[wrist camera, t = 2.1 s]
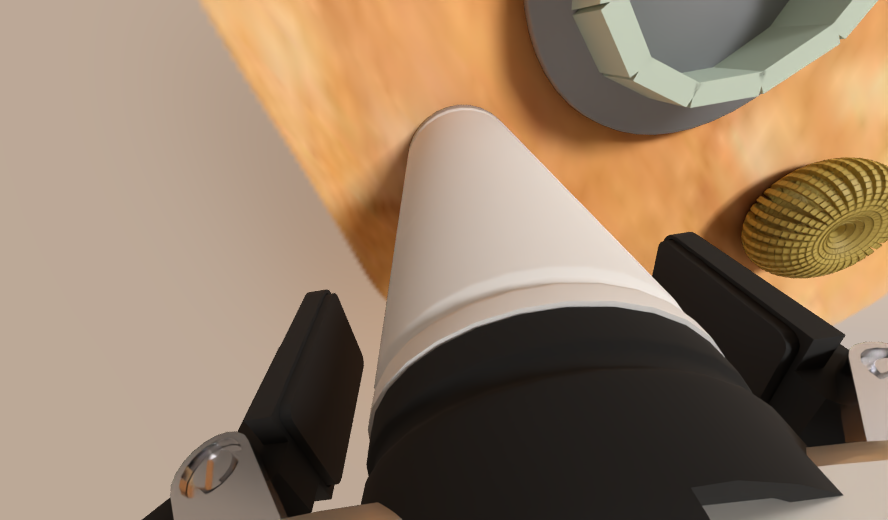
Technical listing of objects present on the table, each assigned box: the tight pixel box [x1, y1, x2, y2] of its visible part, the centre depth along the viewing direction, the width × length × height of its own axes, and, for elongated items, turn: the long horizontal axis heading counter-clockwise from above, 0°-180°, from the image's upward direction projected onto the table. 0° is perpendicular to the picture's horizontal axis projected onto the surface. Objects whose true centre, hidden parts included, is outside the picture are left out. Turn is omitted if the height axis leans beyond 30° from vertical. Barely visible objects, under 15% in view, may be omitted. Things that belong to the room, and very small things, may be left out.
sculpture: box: [741, 157, 888, 278], centre depth 21 cm, size 8×4×8 cm
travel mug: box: [361, 105, 844, 520], centre depth 12 cm, size 6×7×20 cm
